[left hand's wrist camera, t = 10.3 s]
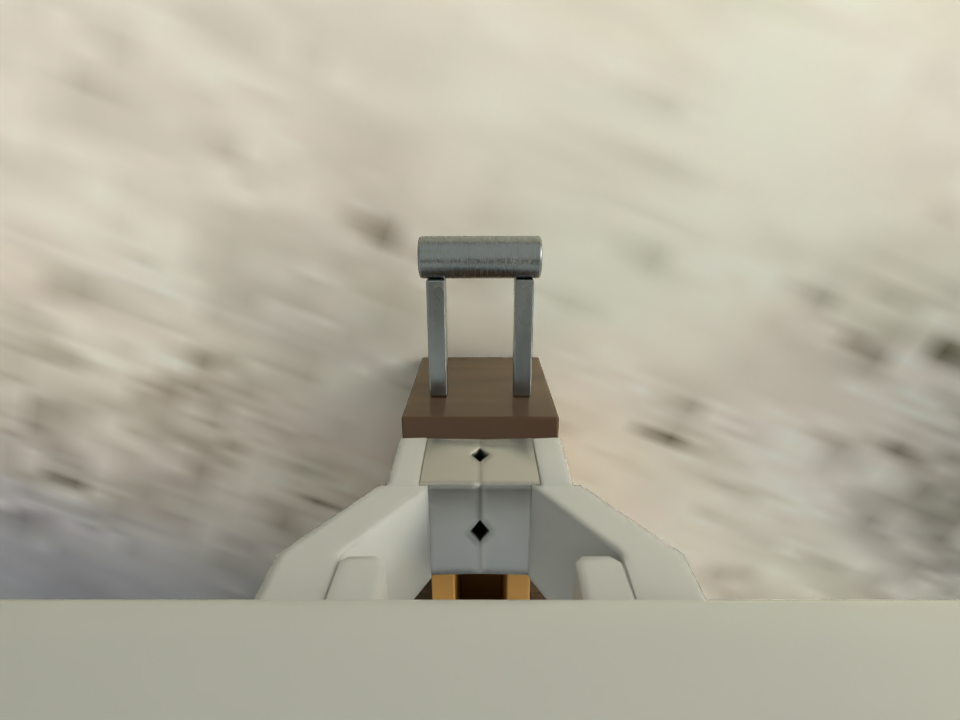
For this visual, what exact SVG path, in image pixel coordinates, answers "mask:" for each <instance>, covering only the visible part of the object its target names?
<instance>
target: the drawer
mask: <svg viewBox="0 0 960 720" xmlns="http://www.w3.org/2000/svg"><path fill="white" fill-rule="evenodd" d="M418 270H419V275H420V277H421V278H428V279H427V281H426V293H427V323H428V353H429V358H423V359H422V362H421V365H420V367H419V370H418V373H417V376H416V379H415V382H414V385H413V388H412V390H411V393H410V396H409V399H408V402H407V405H406V408H405V410H404V413H403V416H402V436H403V438H427V439H429V438H443V439H522V438H532V439H536V438H558V429H559V417H558V414H557V411H556V408H555V405H554V402H553V400H552V397H551V394H550V391H549V388H548V385H547V382H546V379H545V376H544V373H543V370H542V367H541V364H540V362H539V359H538V358H532V337H533V300H534V279H533V278H539V277H540V275H541V270H542V241H541V238H540V237H539V236H422V237H420V238H419V240H418ZM446 278H514V312H513V358H448V346H447V300H446ZM528 576H529V575H510V574H449V575H432V578H431V580H432V600H529V595H530V578H529V577H528Z"/></svg>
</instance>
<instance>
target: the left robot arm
mask: <svg viewBox="0 0 960 720" xmlns="http://www.w3.org/2000/svg"><path fill="white" fill-rule="evenodd" d="M449 574H510V575H529V576H528V577H529V578H530V580H531V581H532V582H533V583H534V585H535V586H536V587H537V588H538V590H539V591H540V592H541V593H542V594H543V596H544V597H545V598H546V599H547V600H414V599H415V597H416V596H417V595H418V594H419V592H420V591H421V590H422V589H423V588H424V586H425V585H426V584H427V583H428V581H429V580H430V579H431V578H432V575H449ZM0 720H960V600H706V598H705V596H704V594H703V592H702V590H701V588H700V586H699V584H698V582H697V580H696V578H695V576H694V574H693V572H692V570H691V568H690V566H689V564H688V562H687V560H686V558H685V556H684V555H683V554H682V553H680V552H679V551H677V550H676V549H674V548H673V547H671V546H670V545H668V544H667V543H665V542H664V541H662V540H661V539H659V538H658V537H656V536H655V535H654V534H652V533H651V532H649V531H648V530H646V529H645V528H643V527H642V526H640V525H639V524H637V523H636V522H634V521H633V520H631V519H630V518H628V517H627V516H625V515H624V514H622V513H621V512H619V511H618V510H616V509H615V508H613V507H612V506H611V505H609V504H608V503H606V502H605V501H603V500H602V499H600V498H599V497H597V496H596V495H594V494H593V493H591V492H590V491H588V490H587V489H585V488H584V487H582V486H581V485H573V483H572V479H571V476H570V472H569V469H568V465H567V462H566V458H565V455H564V451H563V448H562V444H561V441H560V439H559V438H536V439H532V438H522V439H443V438H429V439H427V438H402V439H401V440H400V441H399V443H398V447H397V451H396V454H395V458H394V461H393V465H392V469H391V472H390V476H389V479H388V483H387V485H379V486H378V487H376V488H375V489H373V490H372V491H370V492H369V493H367V494H366V495H364V496H363V497H361V498H360V499H358V500H357V501H355V502H354V503H352V504H351V505H349V506H348V507H346V508H345V509H343V510H342V511H340V512H339V513H337V514H336V515H334V516H333V517H332V518H330V519H329V520H327V521H326V522H324V523H323V524H321V525H320V526H318V527H317V528H315V529H314V530H312V531H311V532H309V533H308V534H306V535H305V536H303V537H302V538H300V539H299V540H297V541H296V542H294V543H293V544H291V545H290V546H288V547H287V548H285V549H284V550H282V551H281V552H279V553H278V554H277V555H276V557H275V559H274V561H273V563H272V565H271V567H270V569H269V571H268V572H267V574H266V576H265V578H264V580H263V582H262V584H261V586H260V588H259V590H258V592H257V594H256V596H255V598H254V600H0Z"/></svg>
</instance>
